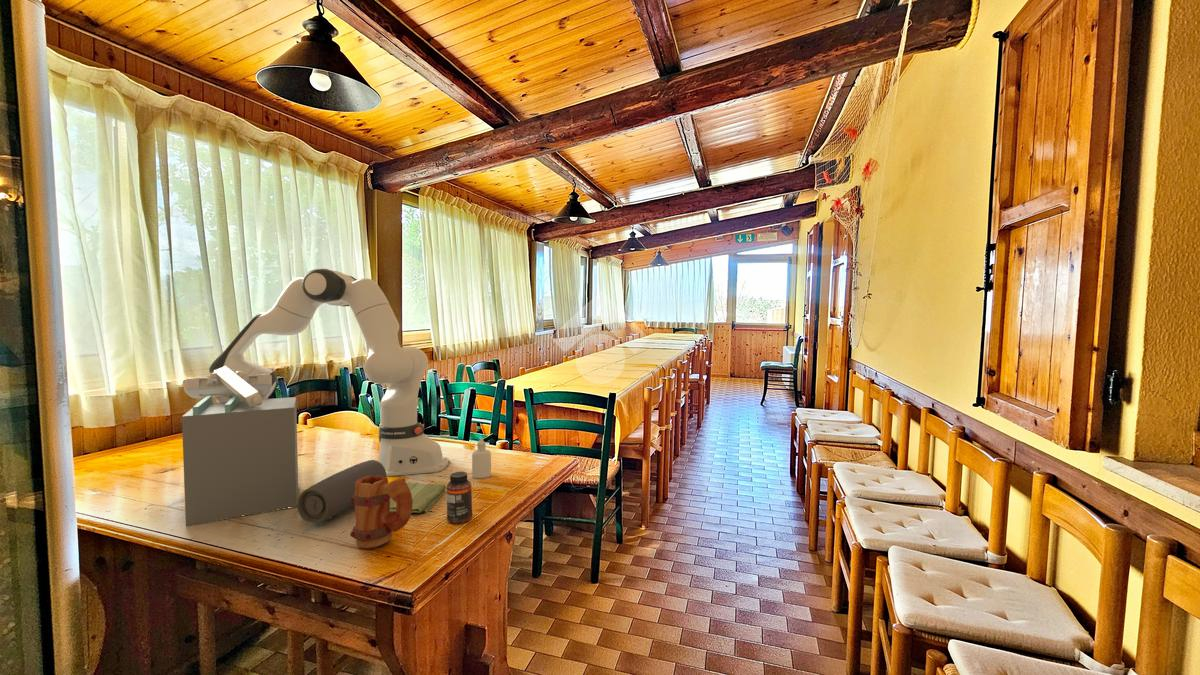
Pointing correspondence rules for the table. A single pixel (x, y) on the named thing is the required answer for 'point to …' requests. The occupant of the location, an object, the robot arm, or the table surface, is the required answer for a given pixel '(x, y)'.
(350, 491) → the bluetooth speaker
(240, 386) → the bar
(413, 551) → the table surface
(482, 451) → the eye dropper bottle
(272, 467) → the stand
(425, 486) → the washcloth
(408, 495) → the mug
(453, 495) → the supplement bottle
